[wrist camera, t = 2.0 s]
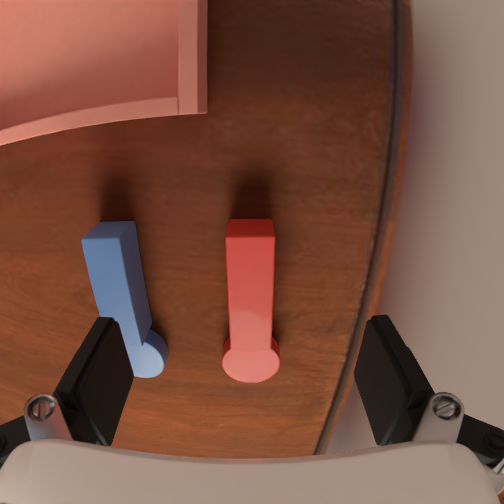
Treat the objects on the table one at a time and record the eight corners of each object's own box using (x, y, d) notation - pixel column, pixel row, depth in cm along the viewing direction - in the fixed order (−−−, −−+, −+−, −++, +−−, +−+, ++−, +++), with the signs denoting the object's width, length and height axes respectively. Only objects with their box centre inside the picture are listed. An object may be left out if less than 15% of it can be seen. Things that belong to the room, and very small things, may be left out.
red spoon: (285, 218, 15) (290, 236, 13) (277, 368, 19) (279, 395, 17) (215, 218, 15) (209, 236, 13) (224, 368, 19) (222, 395, 17)
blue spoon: (147, 219, 15) (131, 237, 13) (172, 366, 19) (165, 392, 17) (89, 222, 15) (69, 238, 13) (125, 362, 19) (115, 386, 17)
